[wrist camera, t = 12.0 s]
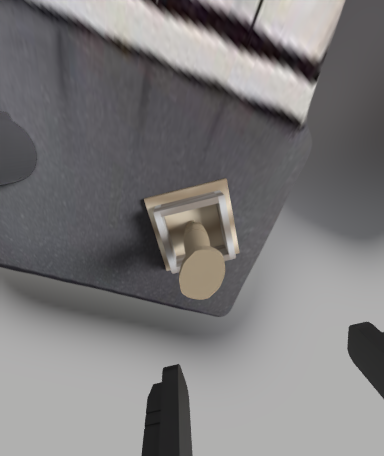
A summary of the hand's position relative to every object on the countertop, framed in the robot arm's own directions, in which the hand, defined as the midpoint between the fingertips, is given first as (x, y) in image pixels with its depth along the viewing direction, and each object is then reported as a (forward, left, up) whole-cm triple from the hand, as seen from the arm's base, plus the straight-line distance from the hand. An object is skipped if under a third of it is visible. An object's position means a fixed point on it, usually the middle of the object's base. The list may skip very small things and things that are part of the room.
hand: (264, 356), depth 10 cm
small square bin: (+4, -2, -30) cm, 30 cm away
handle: (+4, -2, -29) cm, 29 cm away
